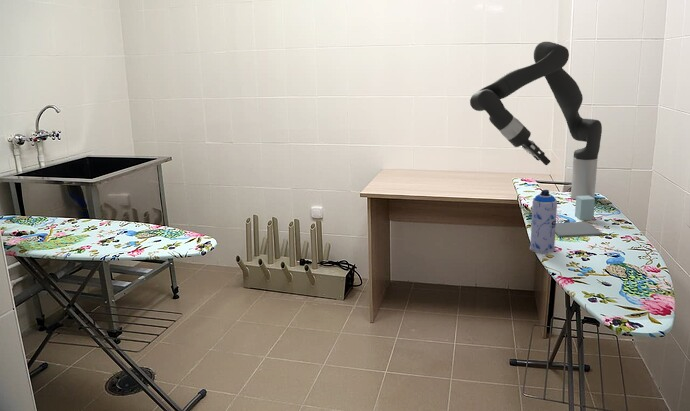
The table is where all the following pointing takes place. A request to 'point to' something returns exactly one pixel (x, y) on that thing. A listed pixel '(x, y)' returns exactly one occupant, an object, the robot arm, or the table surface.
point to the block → (584, 207)
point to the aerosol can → (543, 223)
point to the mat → (576, 229)
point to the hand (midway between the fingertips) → (544, 161)
